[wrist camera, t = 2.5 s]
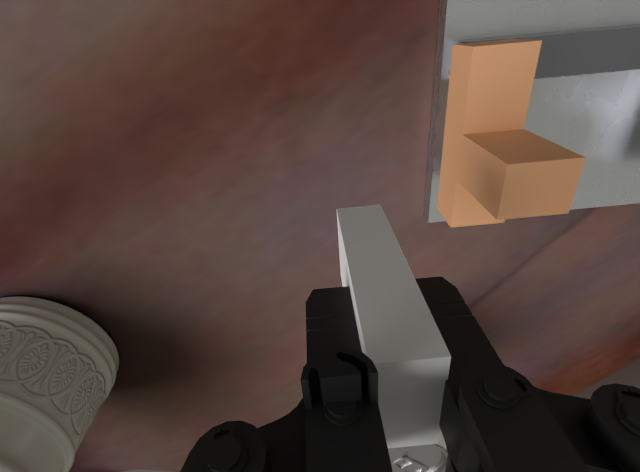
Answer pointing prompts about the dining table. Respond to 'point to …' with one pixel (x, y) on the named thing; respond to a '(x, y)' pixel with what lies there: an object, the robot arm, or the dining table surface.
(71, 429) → the jar
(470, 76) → the orange t-shaped block
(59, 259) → the dining table surface
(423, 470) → the can
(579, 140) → the grey assembly fixture
